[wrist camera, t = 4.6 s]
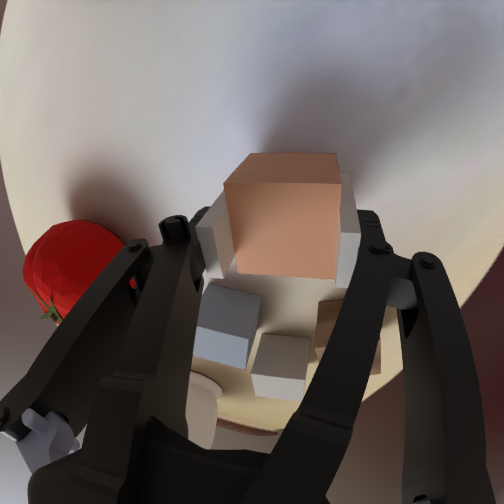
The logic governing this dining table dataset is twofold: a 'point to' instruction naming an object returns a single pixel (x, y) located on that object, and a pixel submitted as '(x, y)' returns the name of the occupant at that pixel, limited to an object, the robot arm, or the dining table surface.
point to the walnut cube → (325, 325)
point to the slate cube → (226, 325)
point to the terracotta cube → (285, 214)
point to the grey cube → (281, 367)
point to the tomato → (68, 264)
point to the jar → (202, 409)
